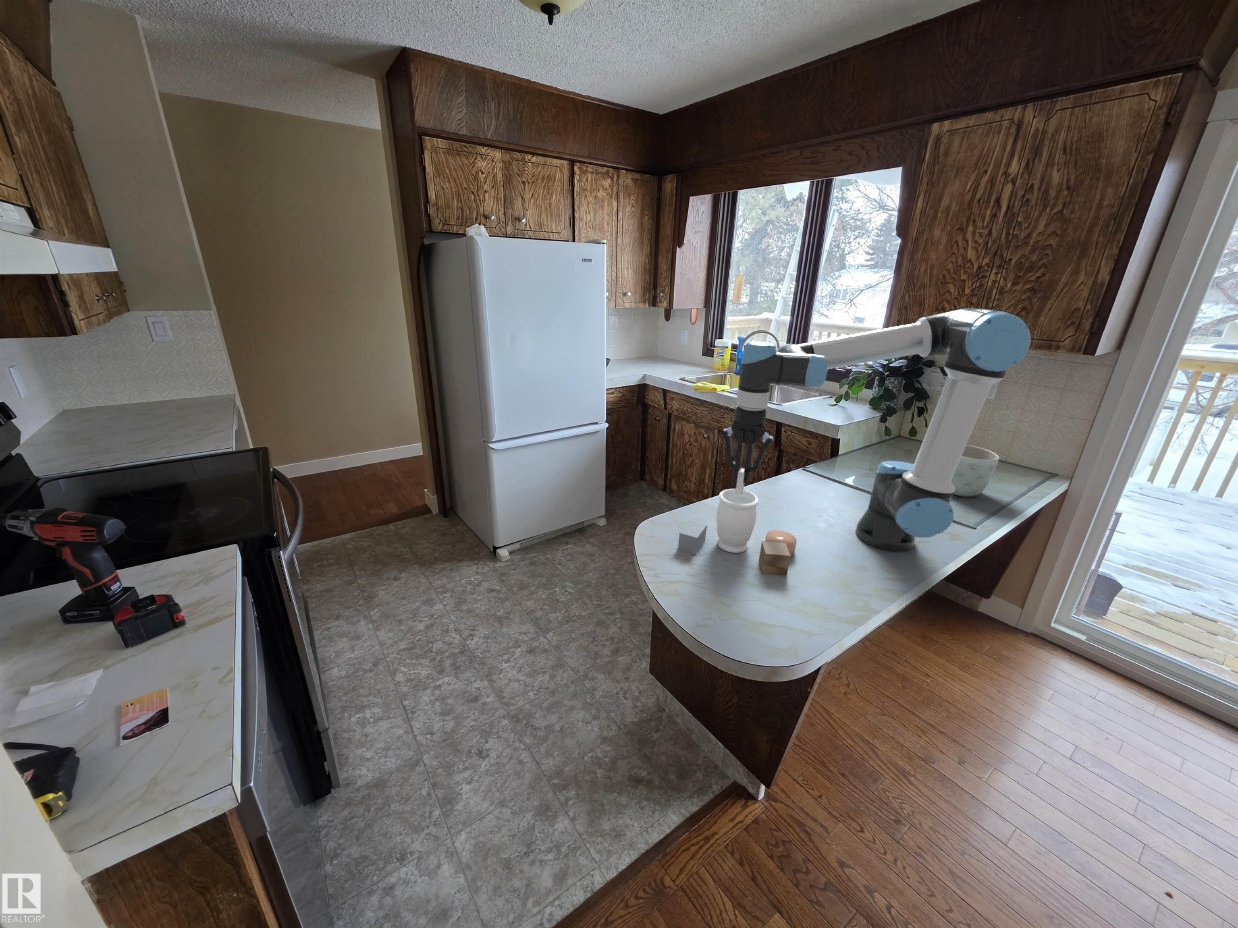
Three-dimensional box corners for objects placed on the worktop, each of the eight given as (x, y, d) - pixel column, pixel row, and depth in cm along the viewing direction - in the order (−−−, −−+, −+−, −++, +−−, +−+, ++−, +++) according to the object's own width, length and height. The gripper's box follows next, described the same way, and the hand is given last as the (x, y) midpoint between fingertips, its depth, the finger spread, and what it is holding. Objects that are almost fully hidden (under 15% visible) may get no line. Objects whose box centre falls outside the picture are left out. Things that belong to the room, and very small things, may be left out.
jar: (752, 558, 132) (760, 507, 127) (712, 552, 134) (718, 502, 128) (750, 538, 142) (757, 490, 136) (713, 533, 144) (719, 486, 138)
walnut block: (782, 563, 131) (785, 543, 129) (786, 576, 125) (790, 555, 123) (758, 561, 131) (761, 541, 129) (762, 574, 126) (765, 553, 123)
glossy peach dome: (796, 547, 138) (798, 534, 137) (792, 561, 132) (794, 548, 130) (766, 540, 142) (768, 527, 140) (761, 553, 135) (763, 540, 133)
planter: (977, 506, 167) (991, 464, 161) (922, 489, 179) (934, 449, 173) (991, 493, 178) (1005, 453, 172) (939, 478, 189) (950, 440, 184)
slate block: (705, 540, 140) (706, 525, 138) (695, 554, 133) (697, 537, 132) (688, 536, 142) (689, 520, 140) (678, 548, 136) (679, 532, 134)
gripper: (781, 407, 124) (767, 493, 133) (729, 399, 129) (719, 482, 138) (775, 414, 117) (761, 504, 126) (721, 406, 123) (711, 492, 131)
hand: (739, 492), depth 132 cm, fingers closed
